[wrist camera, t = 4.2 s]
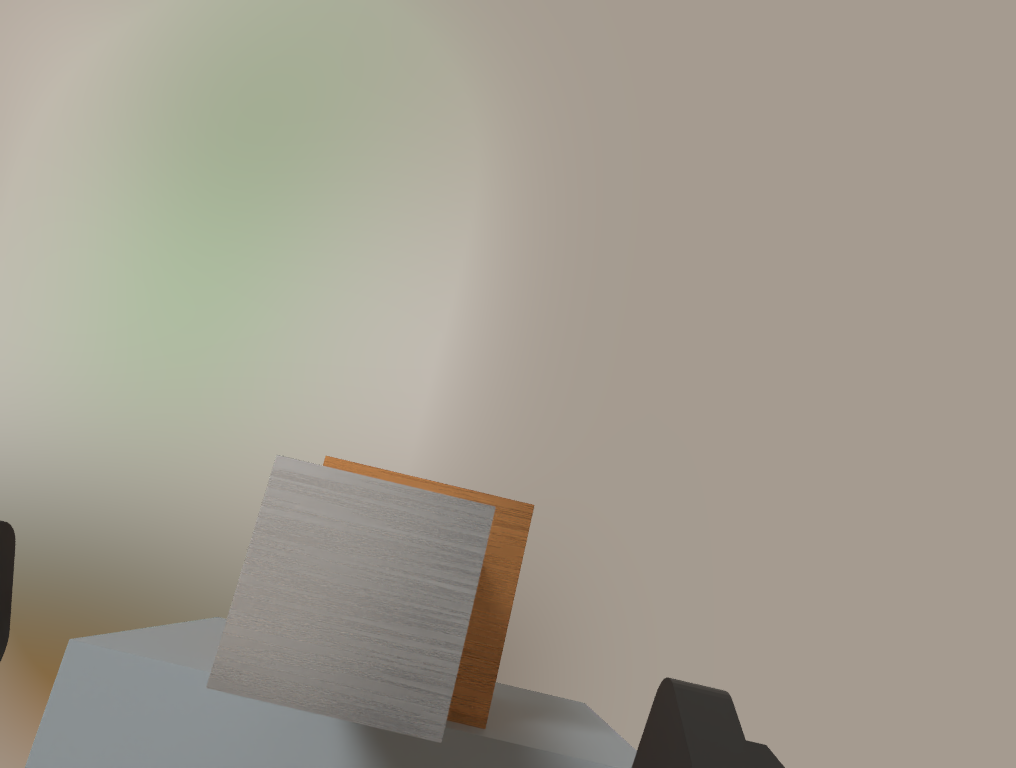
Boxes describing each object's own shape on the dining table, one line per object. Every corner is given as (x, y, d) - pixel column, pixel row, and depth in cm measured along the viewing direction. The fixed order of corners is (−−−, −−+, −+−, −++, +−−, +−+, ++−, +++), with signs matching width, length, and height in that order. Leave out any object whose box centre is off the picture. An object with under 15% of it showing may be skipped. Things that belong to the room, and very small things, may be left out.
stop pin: (311, 652, 26) (357, 486, 28) (477, 691, 26) (514, 523, 28) (71, 771, 10) (214, 345, 11) (517, 875, 10) (604, 438, 11)
